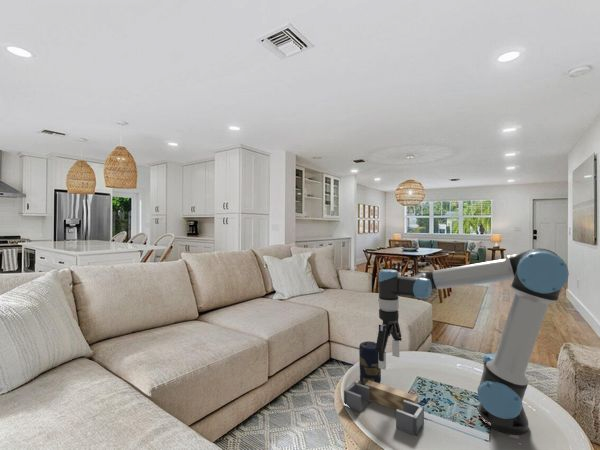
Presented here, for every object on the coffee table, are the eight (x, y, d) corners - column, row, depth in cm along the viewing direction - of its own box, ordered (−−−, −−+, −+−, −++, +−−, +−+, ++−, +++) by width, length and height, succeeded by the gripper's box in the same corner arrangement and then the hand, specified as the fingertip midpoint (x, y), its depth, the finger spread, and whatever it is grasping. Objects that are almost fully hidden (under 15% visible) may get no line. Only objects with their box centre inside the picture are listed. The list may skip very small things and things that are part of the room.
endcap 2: (423, 423, 110) (423, 406, 110) (416, 436, 104) (416, 418, 104) (404, 415, 115) (404, 399, 115) (396, 427, 108) (395, 410, 108)
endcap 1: (344, 405, 121) (343, 390, 121) (354, 396, 128) (354, 382, 128) (360, 412, 117) (359, 396, 117) (369, 402, 123) (369, 387, 123)
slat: (417, 411, 118) (417, 396, 117) (414, 416, 114) (414, 400, 114) (369, 394, 130) (369, 380, 130) (365, 398, 127) (364, 384, 126)
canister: (381, 388, 134) (381, 347, 134) (359, 386, 136) (359, 345, 135) (380, 377, 143) (380, 339, 143) (359, 375, 145) (359, 337, 145)
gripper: (391, 301, 134) (392, 349, 134) (365, 314, 115) (366, 371, 115) (408, 303, 129) (409, 353, 130) (384, 318, 110) (385, 377, 110)
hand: (389, 362), depth 122 cm, fingers open, 13 cm apart
